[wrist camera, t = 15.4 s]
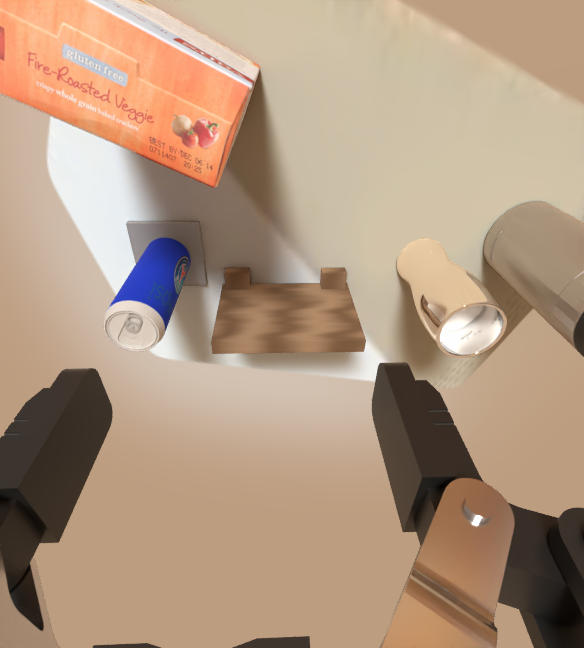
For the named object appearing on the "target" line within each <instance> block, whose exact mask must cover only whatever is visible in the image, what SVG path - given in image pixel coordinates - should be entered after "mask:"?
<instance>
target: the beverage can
mask: <svg viewBox="0 0 584 648" xmlns="http://www.w3.org/2000/svg"><path fill="white" fill-rule="evenodd" d="M190 263H191V259H190V254H189V252H188V250H187V249H186V247H185V246H184V245H183V244H181V243H180V242H178V241H177V240H174V239H171V238H158V239H155V240H153V241H152V242H151V243H150V244H149V245H148V246H147V248H146V250H145V251H144V253H143V254H142V256H141V257H140V259H139V261H138V262H137V264H136V265H135V267H134V269H133V270H132V272H131V273H130V275H129V276H128V278H127V280H126V281H125V283H124V284H123V286H122V287H121V289H120V291H119V292H118V294H117V295H116V297H115V299H114V300H113V302H112V303H111V305H110V306H109V308H108V310H107V312H106V313H105V318H104V331H105V334H106V335H107V337H108V338H109V339H110V341H111V342H112V343H114V344H115V345H116V346H118V347H120V348H122V349H125V350H128V351H133V352H141V351H146V350H149V349H151V348H153V347H154V346H155V345H156V344H157V343H158V342H159V341H160V340H161V339H162V338H163V336H164V334H165V331H166V328H167V326H168V323H169V320H170V318H171V315H172V312H173V310H174V307H175V304H176V302H177V299H178V296H179V294H180V291H181V288H182V286H183V283H184V280H185V278H186V275H187V272H188V270H189V267H190Z"/></svg>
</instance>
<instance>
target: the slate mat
mask: <svg viewBox="0 0 584 648" xmlns="http://www.w3.org/2000/svg"><path fill="white" fill-rule="evenodd" d="M126 225H127V229H128V234H129V238H130V242H131V246H132V250H133V254H134V258H135V262H136V264H137V262H138V261H139V259H140V257H141V256H142V254H143V253H144V251H145V250H146V248H147V246H148V245H149V244H150V243H151V242H152V241H153V240H155V239H158V238H171V239H174V240H177V241H178V242H180V243H181V244H183V245H184V246H185V247H186V249H187V250H188V252H189V254H190V259H191V263H190V267H189V270H188V272H187V275H186V278H185V280H184V283H183V285H206V284H207V278H206V270H205V262H204V254H203V247H202V239H201V231H200V223H199V221H128V222H127V223H126Z"/></svg>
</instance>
